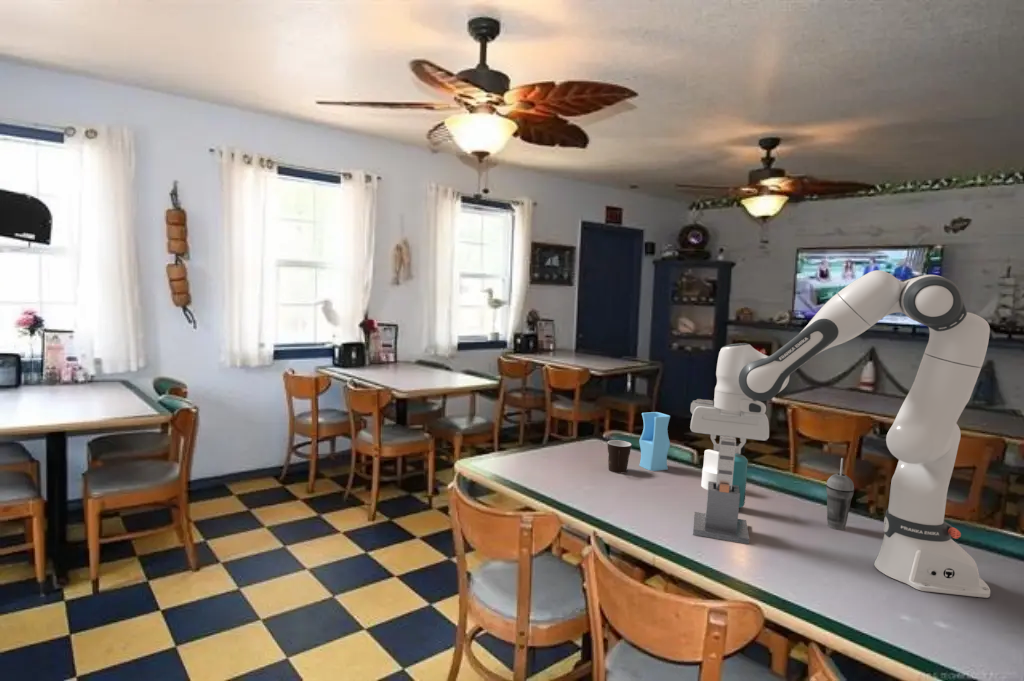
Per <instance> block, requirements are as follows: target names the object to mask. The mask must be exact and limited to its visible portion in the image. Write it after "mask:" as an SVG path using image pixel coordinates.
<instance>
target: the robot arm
mask: <svg viewBox="0 0 1024 681" xmlns="http://www.w3.org/2000/svg"><path fill="white" fill-rule="evenodd" d="M895 313H902V314H904V315H905V316H906V317H907V318H908V319H910V320H912V321H914V322H918V323H920V324H922V325H923V326H925V327H927V328H928V331H929V336H928V337H929V338H928V342H927V344H926V347H925V350H924V353H923V355H922V358H921V360H920V364H919V367H918V370H917V373H916V375H915V378H914V381H913V383H912V385H911V388H910V389H909V391H908V393H907V395H906V397H905V399H904V401H903V402H902V405H901V407H900V408H899V411H898V412H897V415H896V417H895V419H894V420H893V423H892V425H891V427H890V428H889V430H888V432H887V434H886V436H885V441H886V442H885V443H886V447H887V449H888V450H889V452H890V454H891V455H892V456H893V457H895V458H896V459H897V460H898V462H897V465H896V468H895V471H894V474H893V475H892V478H891V481H890V482H891V484H890V490H889V499H888V500H889V501H888V508H887V509H886V511H885V516H884V519H883V521H884V522H883V533H884V535H883V538H882V543H881V546H880V549H879V553H878V555H877V556H876V559H875V561H874V563H873V564H874V567H875V568H876V569H877V570H878V571H879V572H880V573H881V574H883V575H886V576H887V577H889V578H892V579H894V580H896V581H899V582H901V583H904V584H906V585H908V586H910V587H912V588H914V589H916V590H919V591H921V592H930V593H938V594H939V593H940V594H946V595H947V594H948V595H957V596H964V597H965V596H967V597H975V598H976V597H978V598H985V599H987V598H988V599H989V598H990V597H991V589H990V587H989V585H988V584H987V583H986V581H985V580H983V579H982V578H981V577H980V574H979V568H978V565H977V562H976V561H975V559H974V558H973V557H972V556H971V555H970V554H969V553H968V552H967V551H966V550H964V548H962V547H961V546H960V545H959V544H958V543H957V542H956V541H954V540H953V539H959V538H961V536H962V533H961V531H960V530H959V529H958V528H955V527H953V526H952V525H951V524H949V523H948V522H946V521H945V513H946V506H947V497H948V490H949V485H950V481H951V478H952V475H953V471H954V469H955V468H954V467H955V464H956V459H957V454H958V450H959V445H960V441H961V433H962V432H961V429H960V427H959V425H958V420H959V418H960V417H961V414H962V413H963V411H964V409H965V408H966V406H967V404H968V403H969V401H970V398H971V397H972V394H973V391H974V388H975V385H976V383H977V380H978V377H979V376H980V372H981V369H982V367H983V364H984V361H985V359H986V358H985V357H986V355H987V349H988V346H989V339H990V332H991V328H990V325H989V323H988V321H986V319H984V318H983V317H982V316H980V315H977V314H975V313H973V312H969V311H968V312H967V309H966V306H965V303H964V298H963V295H962V292H961V290H960V288H959V287H958V286H957V285H956V283H954V282H953V281H952V280H950V279H949V278H946V277H943V276H940V275H936V274H924V275H919V276H915V277H910V278H905V279H902V280H899V279H898V278H897V277H895V275H893V274H891V273H889V272H888V271H885V270H882V269H881V270H879V269H878V270H877V269H876V270H872V271H868V273H865V274H864V275H862V276H860V277H859V278H857V279H855V280H854V281H852V282H851V283H849V284H848V285H845V287H843V288H842V289H841V290H839V291H838V292H837V293H836V294H834V295H833V296H832V297H831V298H829V299H828V300H827V302H825V303H824V304H823V305H822V306H821V308H820V309H819V310H818V311H817V312H816V313H815V315H814V316H813V317H812V318H811V319H810V320H809V322H808V324H807V325H806V326H804V328H803V329H802V330H801V331H800V332H799V333H798V334H796V335H795V336H794V337H793V338H792V339H791V340H789V341H788V342H787V343H785V344H784V345H783V346H782V347H780V348H778V349H777V350H776V351H775V352H774V353H772V354H771V355H766V354H764V353H762V352H760V351H758V350H757V349H756V348H754V347H753V346H752V345H751V344H750V343H747V342H746V343H745V342H742V343H741V342H740V343H731V344H726V345H724V346H722V347H721V348H720V351H719V352H718V357H717V363H716V371H715V376H716V385H715V387H714V395H713V396H714V398H713V400H712V399H711V400H710V399H701V398H697V399H696V400H692V402H690V409H689V410H690V413H691V414H692V416H691V420H690V424H689V425H690V426H689V428H690V431H691V433H697V434H704V435H710V440H711V443H713V450H714V451H717V452H719V448H720V444H719V443H717V442H716V439H717V436H727V437H735V438H739V441H740V443H738V444H739V446H736V448H735V454H739V455H741V454H742V453H741V448H742V447H743V445H744V446H745V445H746V443H747V440H755V441H768V439H769V438H770V423H769V418H768V415H767V414H766V411H767V406H766V404H765V403H764V402H765V401H771V400H772V399H774V397H776V395H778V394H779V393H780V392H782V391H783V390H784V389H785V388H786V387H787V386H788V384H789V382H790V376H791V374H793V373H794V372H795V371H797V369H800V367H801V366H803V365H805V364H806V363H807V362H808V361H810V360H811V359H812V358H814V357H815V356H817V355H818V354H820V353H822V352H824V351H826V350H828V349H830V348H834V347H836V346H839V345H841V344H844V343H847V342H848V341H851V340H853V339H854V338H856V337H858V336H860V335H861V334H863V333H864V332H866V331H867V330H869V329H870V328H871V327H873V326H874V325H876V324H877V323H878V322H879V321H881V320H882V319H883V318H885V317H887V316H888V315H891V314H895Z"/></svg>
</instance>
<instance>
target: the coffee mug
mask: <svg viewBox="0 0 1024 681" xmlns="http://www.w3.org/2000/svg"><path fill="white" fill-rule="evenodd" d="M606 445H607V463H608V465H607V466H608V470H609V471H610V472H612V473H614V474H615V473H617V474H624V473H627V471H628V465H629V460H630V456H631V450H632V443H631V442H629V441H625V440H618V439H617V440H615V439H613V440H608V441H607V444H606Z"/></svg>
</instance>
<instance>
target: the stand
mask: <svg viewBox="0 0 1024 681" xmlns="http://www.w3.org/2000/svg"><path fill="white" fill-rule="evenodd" d="M739 500H740V492H739V486H738V485H732V492H730V491H729V485H728V484H721V483H720V487H719V490H717V489H716V482H710V481H708V490H707V496H706V508H705V513H704V512H699V511H698V512H697V511H694V516H693V518H694V520H693V531H692V533H693V534H692V535H693V536H699V537H703V538H710V539H716V540H722V541H726V542H727V541H728V542H733V543H738V544H746V545H749V544H750V535H749V530H748V525H747V523H748V522H747V519H741V518H739V508H740V507H739Z"/></svg>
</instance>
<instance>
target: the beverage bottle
mask: <svg viewBox="0 0 1024 681" xmlns="http://www.w3.org/2000/svg"><path fill="white" fill-rule="evenodd" d="M739 444H740V443H736V446H739ZM745 451H746V449H745V444H744V445H743V447H742V448H741V453H740V454H736V453H735V459H734V471H733V482H732V485H738V486H739V492H740V500H739V508H744V506H745V503H746V501H745V500H746V491H747V490H746V489H747V478H748V474H747V473H748V472H747V471H748V463H749V460H748V459H747V458H746V456H745V455H743V454H745Z"/></svg>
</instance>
